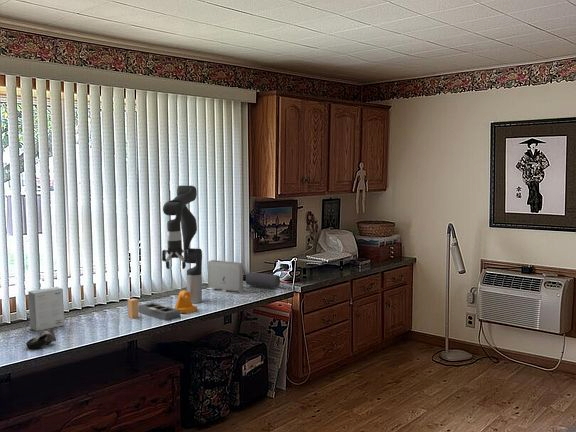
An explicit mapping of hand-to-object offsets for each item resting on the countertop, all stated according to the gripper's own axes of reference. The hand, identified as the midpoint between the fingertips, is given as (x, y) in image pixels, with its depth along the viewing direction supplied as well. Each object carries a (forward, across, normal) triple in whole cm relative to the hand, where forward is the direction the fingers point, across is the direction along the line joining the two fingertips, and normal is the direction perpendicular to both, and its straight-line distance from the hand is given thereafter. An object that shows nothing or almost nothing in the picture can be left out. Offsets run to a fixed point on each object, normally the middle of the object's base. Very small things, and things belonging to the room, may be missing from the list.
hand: (175, 268), depth 324 cm
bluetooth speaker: (+32, -31, -90) cm, 101 cm away
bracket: (+30, +2, -20) cm, 36 cm away
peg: (+28, +27, -4) cm, 40 cm away
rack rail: (+29, +15, -11) cm, 34 cm away
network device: (+31, -8, -75) cm, 82 cm away
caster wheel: (+27, +50, +53) cm, 78 cm away
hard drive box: (+27, +64, +22) cm, 73 cm away
